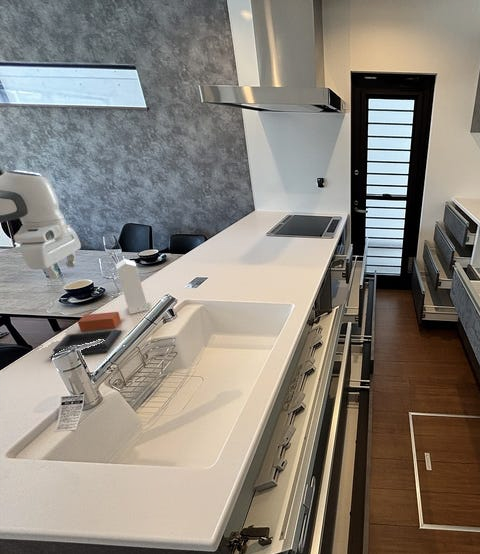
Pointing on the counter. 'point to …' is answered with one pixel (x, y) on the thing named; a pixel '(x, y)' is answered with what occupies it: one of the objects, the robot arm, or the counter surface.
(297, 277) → the counter surface
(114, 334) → the base pad
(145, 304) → the milk
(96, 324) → the top pad
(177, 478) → the counter surface
